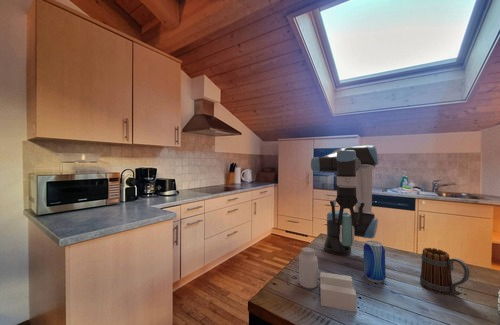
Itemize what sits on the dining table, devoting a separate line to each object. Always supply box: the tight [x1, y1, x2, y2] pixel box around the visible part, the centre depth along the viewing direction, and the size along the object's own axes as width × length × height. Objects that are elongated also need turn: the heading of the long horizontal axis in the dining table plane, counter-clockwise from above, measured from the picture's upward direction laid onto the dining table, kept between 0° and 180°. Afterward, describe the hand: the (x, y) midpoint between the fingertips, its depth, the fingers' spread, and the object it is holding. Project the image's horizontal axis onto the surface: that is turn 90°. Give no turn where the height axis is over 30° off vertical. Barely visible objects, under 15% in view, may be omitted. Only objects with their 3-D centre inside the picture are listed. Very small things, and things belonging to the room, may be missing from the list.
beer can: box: [363, 240, 386, 284], centre depth 95 cm, size 8×8×16 cm
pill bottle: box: [298, 246, 319, 289], centre depth 91 cm, size 8×8×15 cm
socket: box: [319, 271, 358, 313], centre depth 82 cm, size 13×12×6 cm
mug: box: [419, 247, 471, 296], centre depth 86 cm, size 16×11×15 cm
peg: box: [342, 214, 353, 247], centre depth 88 cm, size 4×4×12 cm
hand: (346, 241), depth 88 cm, fingers closed on peg, 4 cm apart
